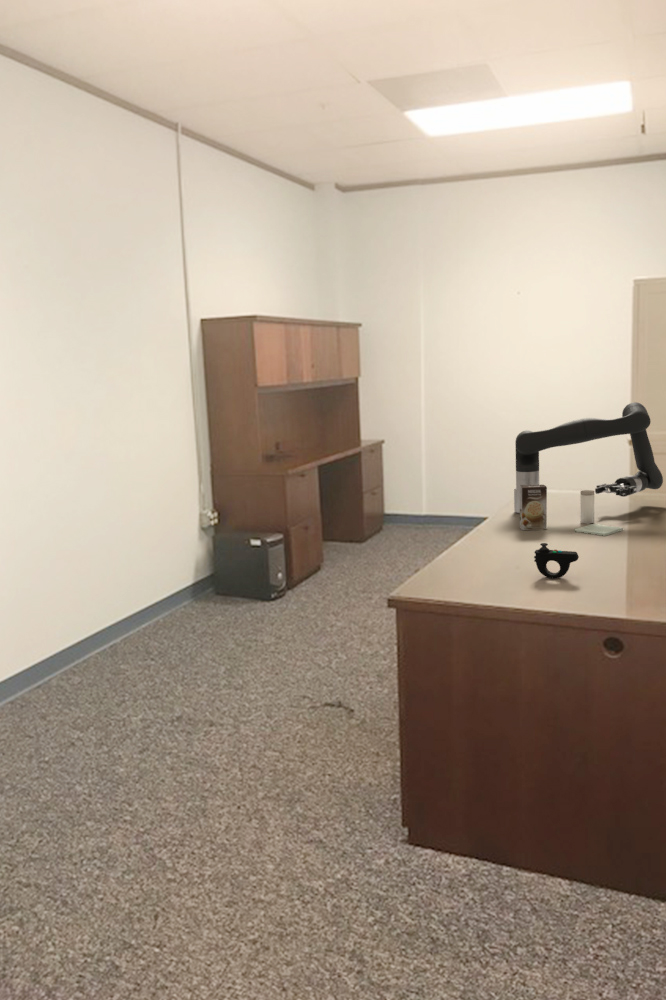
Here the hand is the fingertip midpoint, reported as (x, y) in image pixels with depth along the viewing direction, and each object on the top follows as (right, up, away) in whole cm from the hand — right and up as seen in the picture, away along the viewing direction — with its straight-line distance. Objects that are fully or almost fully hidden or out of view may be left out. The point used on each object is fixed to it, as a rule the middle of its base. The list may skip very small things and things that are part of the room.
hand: (606, 491), depth 305 cm
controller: (-41, -26, -76) cm, 90 cm away
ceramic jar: (-9, -12, -5) cm, 16 cm away
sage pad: (-9, -14, -20) cm, 26 cm away
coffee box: (-31, -14, -10) cm, 35 cm away
